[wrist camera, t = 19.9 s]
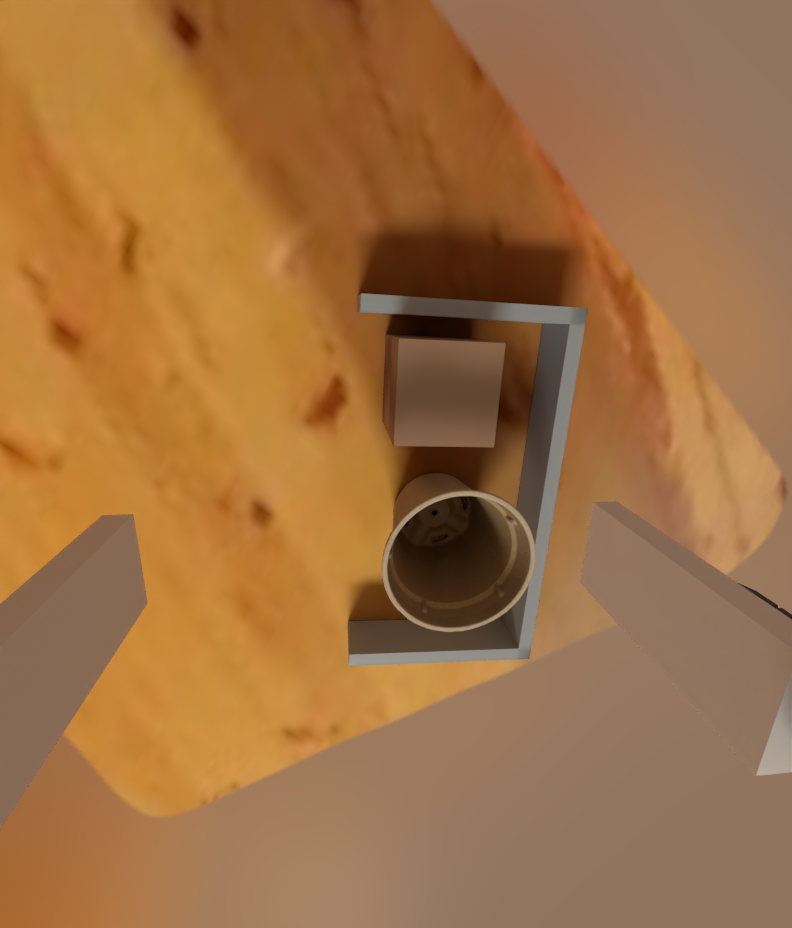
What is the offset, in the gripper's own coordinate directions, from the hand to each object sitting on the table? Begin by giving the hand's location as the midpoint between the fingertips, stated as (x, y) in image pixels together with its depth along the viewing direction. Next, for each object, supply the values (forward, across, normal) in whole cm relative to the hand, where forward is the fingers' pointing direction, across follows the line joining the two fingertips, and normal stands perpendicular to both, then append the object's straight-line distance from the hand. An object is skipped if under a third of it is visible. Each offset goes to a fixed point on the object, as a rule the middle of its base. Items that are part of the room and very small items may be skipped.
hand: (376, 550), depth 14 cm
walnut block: (+21, +5, +2) cm, 21 cm away
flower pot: (+21, +6, -8) cm, 23 cm away
